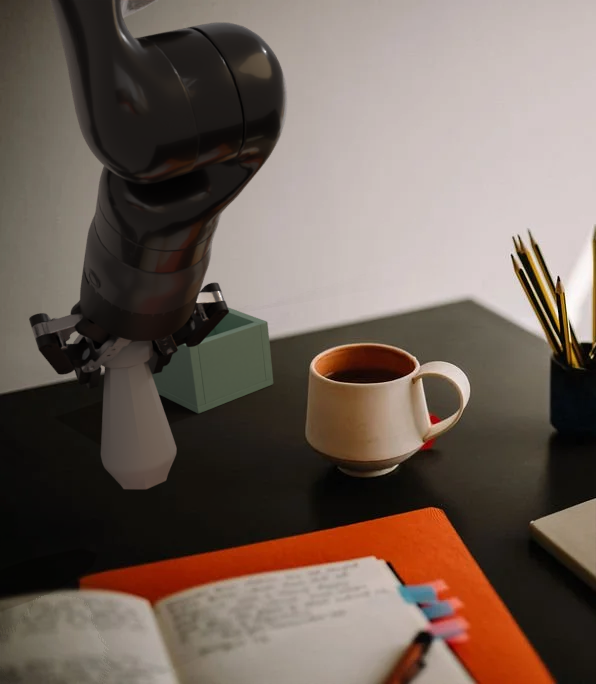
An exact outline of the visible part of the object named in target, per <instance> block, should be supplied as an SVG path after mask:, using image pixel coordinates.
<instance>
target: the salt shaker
mask: <svg viewBox="0 0 596 684" xmlns="http://www.w3.org/2000/svg"><path fill="white" fill-rule="evenodd" d="M152 356H153V344H152V341H137V342H132V343H130V344H129V345H128V346H124V347H123V348H122V349H121V350H120V351H119V353H118V354H117V355H116V356H115V358H114V359H113V360H112V361H104V363H103V364H102V365H101V367H104V375H103V377H104V378H103V398H102V419H101V421H102V422H101V439H100V443H101V444H100V458H101V463H102V465H103V468H104V469H105V471H107V472H108V473H109V475H110V476H112V478H113V479H114V480H115V481H116V482H117V483H118V484H119V485H120V486H121V488H122V489H123V490H148V489H151V488H152V487H155V486H157V485H159V484H162V483H165V482H166V481H167V478H168V475H169V473H170V471H171V467H172V465H173V464H174V461H175V459H176V457H177V451H178V450H177V445H176V441H175V439H174V436H173V433H172V430H171V427H170V425H169V424H170V423H169V421H168V419H167V415H166V412H165V410H164V406H163V404H162V400H161V397H160V395H159V394H158V391H157V388H156V386H155V383H154V380H153V377H152V374H151V371H150V368H149V365H148V362H147V361H148V360H149V359H150V358H151V357H152Z"/></svg>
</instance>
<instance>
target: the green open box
mask: <svg viewBox="0 0 596 684" xmlns="http://www.w3.org/2000/svg"><path fill="white" fill-rule="evenodd" d="M228 309H229V313H228V314H227V315H226V316H225V317H224V318H223V319H222V320H221V321H220V323H219V324H218V325H217V326H216V327H215V328H214V329H213V330H212V331H211V332H210V333H209V334H208V336H207V337H206V338H205V339H204V340H203V341H202V342H201V343H200V344H199V345H197V346H194V347H187V346H186V344H182V345H180V346H178V347H177V349H178V351H177V352H176V353H174V354H172V357H171V360H170V363H169V364H168V365H167V366H163V369H162V372H160V373H156V374H152V373H151V374H152V377H153V380H154V383H155V386H156V388H157V391H158V394H159V396H162V397H164V398H166V399H168V400H169V401H171V402H174V403H176V404H178V405H180V406H181V407H184V408H186V409H188V410H190V411H192V412H194V413H196V414H199V415H200V414H201V413H205V412H207V411H209V410H212V409H215V408H217V407H219V406H222V405H224V404H227V403H230V402H232V401H234V400H238V399H239V398H242V397H244V396H247V395H250V394H253V393H255V392H257V391H261V390H262V389H265V388H267V387H271V386H273V385H274V375H273V374H274V373H273V365H272V356H271V355H272V354H271V353H272V352H271V344H270V333H269V321H267V320H263V319H262V318H258V317H256V316H253V315H250V314H247V313H245V312H242V311H240V310H237V309H234V308H231V307H228ZM150 371H151V370H150Z"/></svg>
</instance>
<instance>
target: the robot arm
mask: <svg viewBox="0 0 596 684" xmlns="http://www.w3.org/2000/svg"><path fill="white" fill-rule="evenodd" d="M158 1H159V0H49V3H50V6H51V9H52V13H53V17H54V18H55V22H56V26H57V29H58V33H59V36H60V40H61V44H62V45H61V46H62V48H63V53H64V57H65V62H66V66H67V72H68V77H69V84H70V89H71V95H72V100H73V105H74V110H75V115H76V119H77V123H78V126H79V129H80V132H81V134H82V138H83V139H84V142H85V143H86V145H87V147H88V149H89V150H90V152H91V153H92V154H93V156H94V157H95V158H96V159H97V160H98V161H99V162H100V164H101V165H102V166H103V167H102V170H101V174H100V177H99V182H98V190H97V198H96V204H95V212H94V215H93V217H92V219H91V223H90V225H89V228H88V231H87V237H86V243H85V251H84V259H83V266H82V273H81V280H80V281H81V282H80V287H79V289H80V290H79V300H78V301H77V302H76V303H74V305H73V306H72V307H71V309H70V314H68V315H64V316H61V317H53V318H51V317H50V316H49V315H48V314H47V313H45V312H40V313H39V312H38V313H36V314H33V315H31V316H29V319H28V320H29V321H28V322H29V325H30V327H31V331H32V334H33V336H34V339H35V343H36V346H37V349H38V351H39V352H40V354H41V355H42V356H43V357H44V359H45V360H46V361H47V363H49V365H50V366H51V367H52V369H53V370H54V371H55V373H56V374H57V375H60V376H61V375H68V374H71V373H73V372H74V373H75V376H76V380H77V382H78V384H80V385H85V384H86V387H87V389H93V388H94V389H95V388H99V383H100V379H101V374H102V364H103V363H104V361H112V360H113V359H114V358H115V356H116V355H117V354H118V353H119V351H120V350H121V349H122V348H123V347H124V346H128V345H129V344H130V343H132V342H137V341H152V344H153V356H152V357H151V358H150V359H149V360H148V361H147V362H148V365H149V368H150V370H151V373H152V374H156V373H160V372H162V369H163V366H167V365H168V364H169V363H170V360H171V357H172V354H174V353H176V352H177V351H178V349H177V347H178V346H180V345H182V344H186V346H187V347H194V346H197V345H199V344H200V343H201V342H202V341H203V340H204V339H205V338H206V337H207V336H208V334H209V333H210V332H211V331H212V330H213V329H214V328H215V327H216V326H217V325H218V324H219V323H220V321H221V320H222V319H223V318H224V317H225V316H226V315H227V314H228V313H229V309H228V308H229V307H228V304H227V301H226V299H225V296H224V294H223V291H222V288H221V286H220V283H218V282H210V283H207V284H205V285H204V286H203V284H204V281H205V278H206V274H207V272H208V269H209V266H210V262H211V257H212V247H213V241H214V238H215V235H216V233H217V230H218V226H219V223H220V221H221V218H222V213H223V212H224V211H225V210H226V209H227V207H229V205H230V204H232V203H233V202H234V201H235V200H236V199H237V198H238V197H239V196H240V194H241V193H242V192H243V191H244V189H245V188H246V187H247V186H248V184H249V183H250V182H251V181H252V180H253V179H254V177H255V176H256V175H257V173H258V172H259V171H260V170H261V169H262V167H263V166H264V165H265V164H266V162H267V161H268V159H269V158H270V157H271V155H272V153H273V152H274V150H275V148H276V146H277V144H278V143H279V141H280V138H281V136H282V133H283V130H284V127H285V124H286V118H287V113H288V112H287V111H288V90H287V82H286V77H285V74H284V71H283V69H282V65H281V63H280V60H279V59H278V58H277V55H276V53H275V52H274V51H273V50H272V48H271V46H269V44H268V43H267V42H266V41H265V40H264V39H263V38H262V36H260V35H259V34H258V33H256V32H255V31H253V30H252V29H249V28H247V27H245V26H243V25H240V24H237V23H233V22H209V23H208V22H207V23H204V24H198V25H193V26H188V27H182V28H178V29H173V30H168V31H164V32H158V33H153V34H148V35H145V36H139V37H134V36H133V35H132V33H131V31H130V30H129V28H128V26H127V24H126V22H125V18H127V17H129V16H132V15H134V14H135V13H137V12H138V13H139V12H140V11H142V10H144V9H146V8H148V7H149V6H152V5H153V4H155V3H156V2H158ZM202 287H203V288H202ZM73 333H77V334H78V335H77V337H75V339H74V341H73V343H68V341H69V340H70V339H71V335H72V334H73Z"/></svg>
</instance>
